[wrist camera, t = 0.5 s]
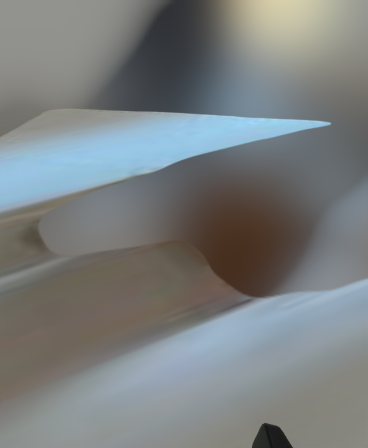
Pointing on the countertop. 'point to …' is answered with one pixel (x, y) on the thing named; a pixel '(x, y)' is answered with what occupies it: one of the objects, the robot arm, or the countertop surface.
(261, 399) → the countertop surface
